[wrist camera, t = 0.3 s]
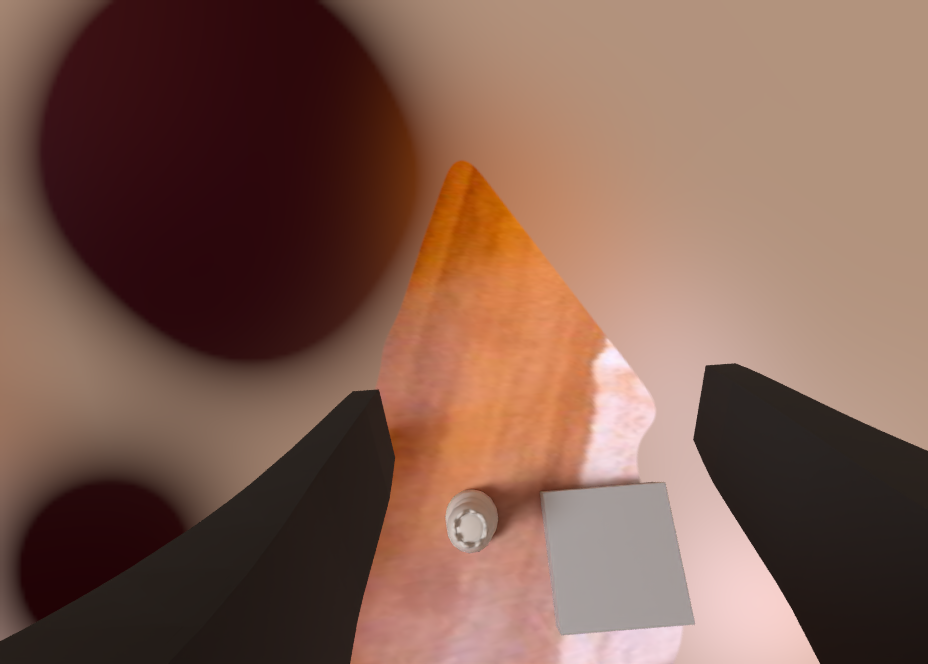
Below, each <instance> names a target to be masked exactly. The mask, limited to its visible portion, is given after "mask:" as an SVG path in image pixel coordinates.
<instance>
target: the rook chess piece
mask: <svg viewBox="0 0 928 664" xmlns="http://www.w3.org/2000/svg"><path fill="white" fill-rule="evenodd" d="M445 519H446V526H447V531H448V537H449V539H450V540H451V542H452V544H453V545H454V546H455V547H456V548H458V549H459V550H460V551H463V552H467V553H474V552H479V551H481V550H482V549H483V548H485V547H486V546H487V545H488V543H489V542H490V540H491V539H492V536H493V534H494V533H495V531H496V529H497V523H498V513H497V508H496V506H495V504H494V502H493V501H492V499H491V498H490V497H489V496H488V495H486V494H485V493H484V492H482V491H478V490H474V489H470V490H465V491H462V492H460V493H459V494H457V495H456V496H454V497H453V498H452V500H451V501H450V503H449V504H448V506H447V511H446V515H445Z"/></svg>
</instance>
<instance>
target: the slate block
mask: <svg viewBox="0 0 928 664" xmlns="http://www.w3.org/2000/svg"><path fill="white" fill-rule="evenodd" d="M540 499H541V507H542V515H543V523H544V531H545V539H546V547H547V555H548V563H549V571H550V579H551V588H552V596H553V604H554V612H555V620H556V626H557V628H558V630H559V632H560V634H561V635H571V634H583V633H595V632H608V631H620V630H632V629H645V628H657V627H669V626H682V625H694V624H695V621H694V617H693V612H692V607H691V602H690V598H689V593H688V588H687V583H686V579H685V574H684V569H683V565H682V560H681V555H680V550H679V546H678V541H677V536H676V531H675V527H674V522H673V517H672V512H671V508H670V503H669V499H668V493H667V489H666V484H665V483H664V482H647V483H638V484H626V485H614V486H601V487H589V488H577V489H565V490H552V491H540Z"/></svg>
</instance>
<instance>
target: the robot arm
mask: <svg viewBox="0 0 928 664" xmlns="http://www.w3.org/2000/svg"><path fill="white" fill-rule="evenodd" d="M693 440H694V442H695V444H696V447H697V449H698V451H699V454H700V456H701V458H702V461H703V463H704V465H705V467H706V469H707V471H708V473H709V475H710V477H711V479H712V481H713V483H714V485H715V486H716V488H717V490H718V491H719V493H720V495H721V496H722V498H723V499H724V501H725V503H726V504H727V506H728V507H729V509H730V511H731V512H732V514H733V515H734V517H735V518H736V520H737V521H738V523H739V525H740V526H741V528H742V529H743V531H744V532H745V534H746V536H747V537H748V539H749V540H750V542H751V544H752V545H753V546H754V548H755V550H756V551H757V553H758V554H759V556H760V558H761V559H762V561H763V562H764V564H765V565H766V567H767V568H768V570H769V572H770V573H771V575H772V576H773V578H774V580H775V581H776V583H777V584H778V586H779V588H780V590H781V591H782V593H783V595H784V596H785V598H786V600H787V601H788V603H789V605H790V606H791V608H792V610H793V612H794V614H795V616H796V618H797V620H798V622H799V624H800V626H801V628H802V629H803V631H804V633H805V635H806V637H807V639H808V641H809V643H810V645H811V647H812V649H813V651H814V653H815V655H816V656H817V659H818V660H819V662H820V664H928V451H927V450H924V449H922V448H919V447H917V446H915V445H913V444H910V443H908V442H906V441H903V440H901V439H899V438H896V437H894V436H892V435H890V434H887V433H885V432H882V431H880V430H878V429H876V428H874V427H871V426H869V425H867V424H865V423H862V422H860V421H858V420H856V419H854V418H852V417H849V416H847V415H845V414H843V413H841V412H839V411H837V410H835V409H833V408H830V407H828V406H826V405H824V404H822V403H820V402H818V401H816V400H814V399H812V398H810V397H808V396H805V395H803V394H801V393H799V392H797V391H795V390H793V389H791V388H789V387H787V386H785V385H783V384H781V383H779V382H777V381H774V380H772V379H770V378H768V377H766V376H764V375H762V374H760V373H757V372H755V371H753V370H751V369H748V368H746V367H743V366H741V365H738V364H735V363H734V364H721V365H707V366H706V367H705V373H704V380H703V385H702V391H701V397H700V403H699V409H698V415H697V421H696V427H695V433H694V439H693ZM394 462H395V455H394V451H393V447H392V443H391V439H390V434H389V430H388V426H387V422H386V418H385V413H384V409H383V405H382V401H381V396H380V392H379V390H366V391H353V392H352V393H351V394H349V395H348V396H347V397H346V398H345V399H344V400H343V401H342V402H341V403H340V404H338V405H337V406H336V407H335V408H334V409H333V410H332V411H331V412H330V413H329V414H328V415H327V416H326V417H325V418H324V419H323V420H322V421H321V422H320V423H319V424H318V425H316V426H315V427H314V428H313V429H312V430H311V431H310V432H309V433H308V434H307V435H306V436H305V437H304V438H302V439H301V440H300V441H299V442H298V443H297V444H296V445H295V446H294V447H293V448H292V449H291V450H290V451H288V452H287V453H286V454H285V455H284V456H282V458H280V459H279V460H278V461H277V462H276V463H275V464H273V465H272V466H271V467H270V468H268V469H267V471H265V472H264V473H263V474H262V475H261V476H259V477H258V478H257V479H256V480H255V481H253V482H252V483H251V484H250V485H249V486H247V487H246V488H245V489H244V490H242V491H241V492H240V493H238V494H237V495H236V496H235V497H233V498H232V499H231V500H229V501H228V502H227V503H226V504H224V505H223V506H221V507H220V508H219V509H217V510H216V511H215V512H213V513H212V514H211V515H209V516H208V517H206V518H205V519H204V520H202V521H201V522H199V523H198V524H197V525H195V526H194V527H192V528H191V529H189V530H188V531H186V532H185V533H183V534H182V535H180V536H179V537H177V538H176V539H174V540H173V541H171V542H170V543H168V544H167V545H165V546H163V547H162V548H160V549H159V550H157V551H156V552H154V553H153V554H151V555H150V556H148V557H147V558H145V559H144V560H142V561H140V562H139V563H137V564H136V565H134V566H133V567H131V568H130V569H128V570H126V571H125V572H123V573H121V574H120V575H118V576H116V577H115V578H113V579H111V580H110V581H108V582H106V583H105V584H103V585H101V586H100V587H98V588H97V589H95V590H93V591H91V592H90V593H88V594H86V595H84V596H83V597H81V598H79V599H77V600H75V601H74V602H72V603H70V604H68V605H67V606H65V607H63V608H61V609H60V610H58V611H56V612H54V613H52V614H51V615H49V616H47V617H45V618H43V619H42V620H40V621H38V622H36V623H34V624H32V625H30V626H29V627H27V628H25V629H23V630H21V631H19V632H18V633H16V634H13V635H12V636H10V637H8V638H6V639H4V640H2V641H0V664H350V661H351V655H352V649H353V643H354V638H355V632H356V626H357V621H358V617H359V612H360V608H361V604H362V599H363V595H364V592H365V588H366V584H367V581H368V577H369V573H370V570H371V566H372V562H373V559H374V555H375V551H376V548H377V544H378V540H379V537H380V533H381V529H382V525H383V522H384V518H385V514H386V510H387V506H388V502H389V498H390V492H391V485H392V478H393V470H394Z"/></svg>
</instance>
